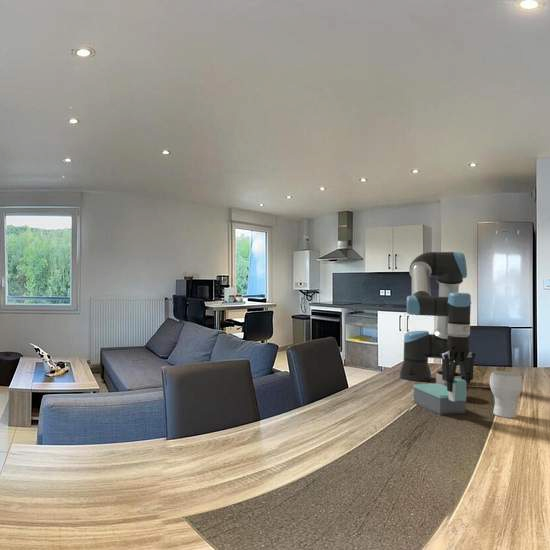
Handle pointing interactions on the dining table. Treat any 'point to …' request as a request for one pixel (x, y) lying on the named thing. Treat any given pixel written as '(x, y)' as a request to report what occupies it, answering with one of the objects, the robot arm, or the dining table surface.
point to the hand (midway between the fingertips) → (457, 400)
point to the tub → (438, 403)
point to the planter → (443, 382)
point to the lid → (444, 389)
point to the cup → (505, 392)
